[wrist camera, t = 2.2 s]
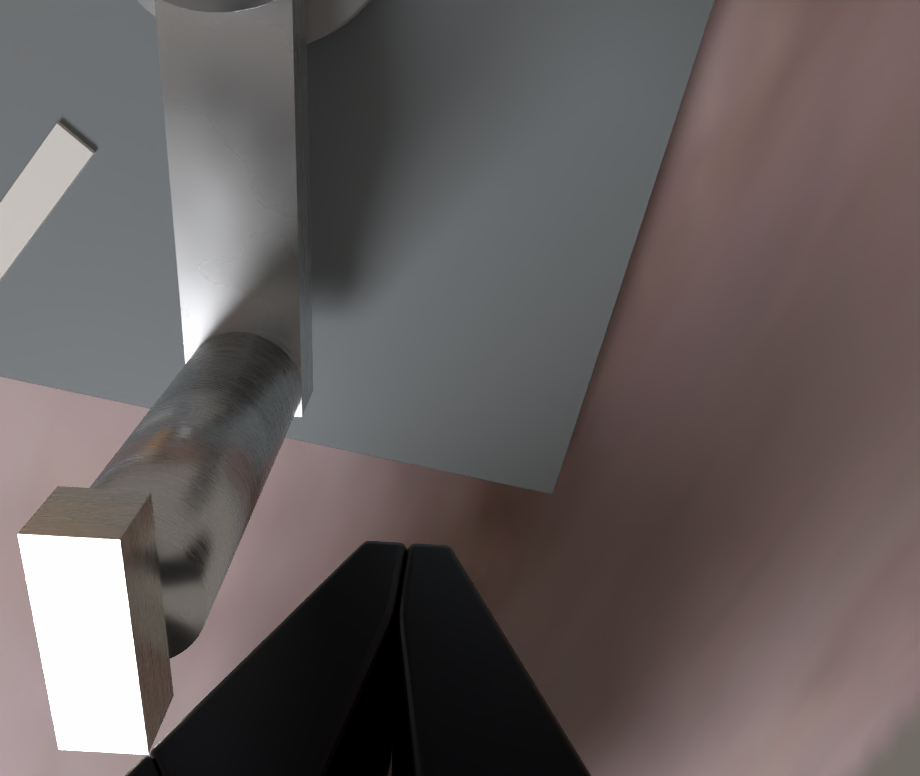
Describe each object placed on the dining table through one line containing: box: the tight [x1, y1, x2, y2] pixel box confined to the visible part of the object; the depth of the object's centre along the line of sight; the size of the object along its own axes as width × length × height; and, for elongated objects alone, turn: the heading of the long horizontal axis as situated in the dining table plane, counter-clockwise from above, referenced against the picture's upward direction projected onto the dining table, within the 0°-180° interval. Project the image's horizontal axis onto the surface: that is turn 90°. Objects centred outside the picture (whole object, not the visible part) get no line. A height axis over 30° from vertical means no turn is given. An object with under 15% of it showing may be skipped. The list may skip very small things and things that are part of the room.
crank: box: [18, 0, 313, 755], centre depth 10 cm, size 10×3×7 cm, turn 177°
